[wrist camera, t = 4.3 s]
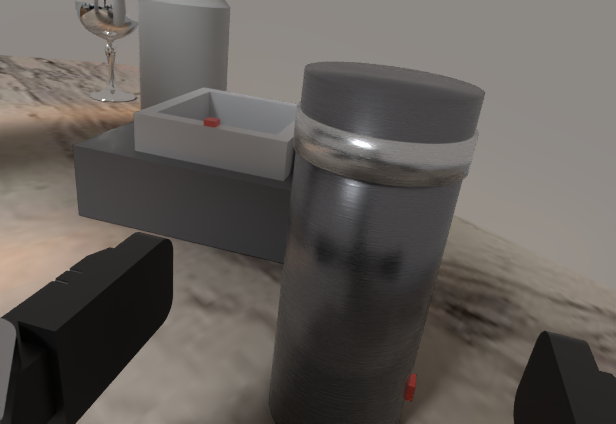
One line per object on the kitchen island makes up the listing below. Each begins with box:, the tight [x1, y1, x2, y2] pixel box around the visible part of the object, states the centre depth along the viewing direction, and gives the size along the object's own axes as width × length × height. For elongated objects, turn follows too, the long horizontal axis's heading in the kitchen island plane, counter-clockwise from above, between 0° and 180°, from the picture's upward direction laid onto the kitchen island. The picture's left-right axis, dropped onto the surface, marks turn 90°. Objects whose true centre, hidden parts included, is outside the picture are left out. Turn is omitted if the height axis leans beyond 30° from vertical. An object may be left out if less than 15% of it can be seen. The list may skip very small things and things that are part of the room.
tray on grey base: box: [73, 87, 297, 263], centre depth 29 cm, size 14×10×6 cm
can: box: [138, 0, 230, 110], centre depth 43 cm, size 8×8×12 cm
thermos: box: [269, 62, 485, 424], centre depth 15 cm, size 5×5×11 cm
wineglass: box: [75, 0, 139, 102], centre depth 48 cm, size 6×6×12 cm
